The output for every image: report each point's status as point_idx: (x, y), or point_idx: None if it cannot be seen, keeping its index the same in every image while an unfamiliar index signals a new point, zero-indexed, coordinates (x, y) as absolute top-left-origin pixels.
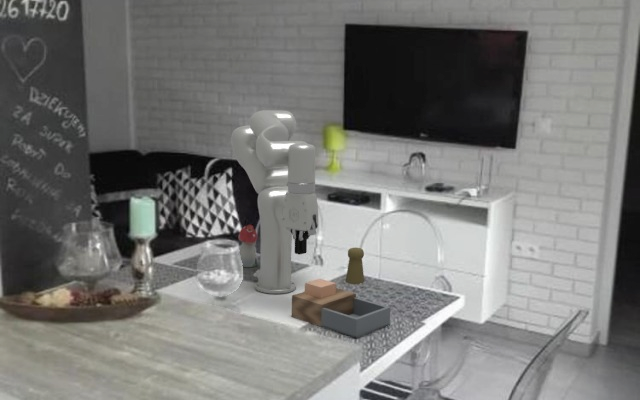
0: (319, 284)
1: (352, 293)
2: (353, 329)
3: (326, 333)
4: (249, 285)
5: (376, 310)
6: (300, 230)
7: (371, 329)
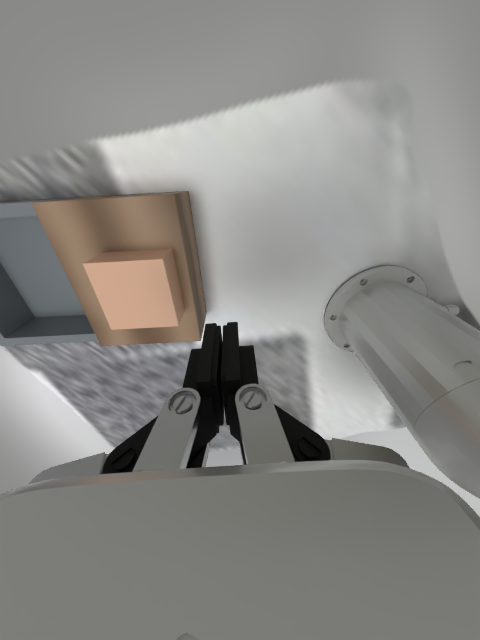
0: (119, 283)
1: (107, 342)
2: None
3: (20, 167)
4: (441, 281)
5: None
6: (91, 477)
7: None
